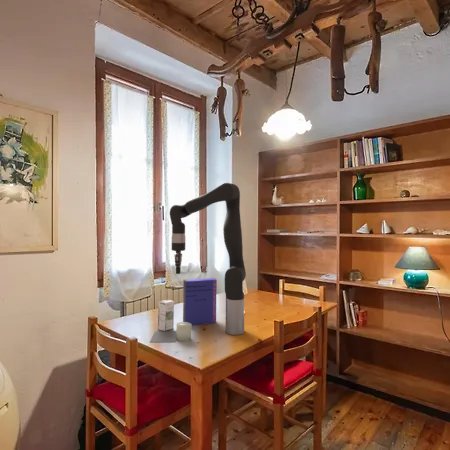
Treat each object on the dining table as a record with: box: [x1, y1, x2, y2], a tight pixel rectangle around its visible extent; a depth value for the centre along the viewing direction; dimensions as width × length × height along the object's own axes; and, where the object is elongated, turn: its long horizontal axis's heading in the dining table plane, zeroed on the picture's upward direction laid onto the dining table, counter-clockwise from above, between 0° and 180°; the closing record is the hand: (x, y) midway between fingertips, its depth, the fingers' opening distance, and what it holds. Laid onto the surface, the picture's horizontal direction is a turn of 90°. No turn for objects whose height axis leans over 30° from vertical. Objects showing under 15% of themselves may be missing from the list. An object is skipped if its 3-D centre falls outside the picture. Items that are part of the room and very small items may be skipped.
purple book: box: [182, 277, 218, 326], centre depth 187 cm, size 17×5×24 cm, turn 111°
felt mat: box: [149, 330, 178, 343], centre depth 164 cm, size 12×15×1 cm
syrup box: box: [157, 299, 175, 331], centre depth 175 cm, size 6×6×14 cm
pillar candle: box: [175, 321, 193, 343], centre depth 162 cm, size 7×7×7 cm
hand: (178, 273), depth 187 cm, fingers closed
